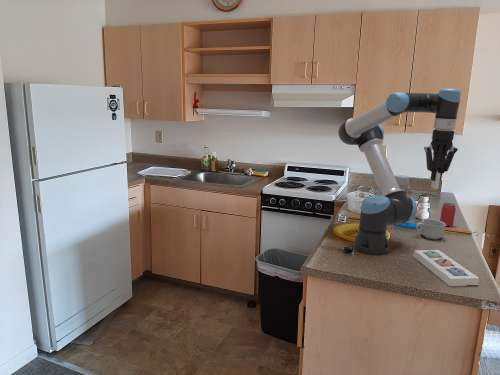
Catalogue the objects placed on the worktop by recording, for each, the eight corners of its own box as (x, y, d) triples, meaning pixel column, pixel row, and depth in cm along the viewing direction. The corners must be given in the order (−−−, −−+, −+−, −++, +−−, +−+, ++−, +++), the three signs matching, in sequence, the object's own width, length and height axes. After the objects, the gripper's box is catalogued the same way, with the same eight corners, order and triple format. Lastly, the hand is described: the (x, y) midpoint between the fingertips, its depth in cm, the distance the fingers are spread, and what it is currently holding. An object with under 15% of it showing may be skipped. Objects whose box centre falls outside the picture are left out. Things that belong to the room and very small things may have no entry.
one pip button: (429, 262, 158) (430, 255, 157) (423, 257, 163) (424, 250, 162) (441, 262, 159) (442, 255, 158) (434, 257, 164) (435, 250, 163)
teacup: (438, 234, 194) (441, 219, 192) (447, 242, 184) (449, 226, 182) (410, 232, 196) (412, 217, 194) (417, 240, 185) (419, 224, 183)
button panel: (449, 286, 140) (451, 278, 140) (413, 256, 165) (414, 250, 165) (477, 285, 141) (479, 278, 141) (437, 256, 166) (438, 250, 166)
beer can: (436, 223, 211) (440, 202, 208) (448, 223, 212) (451, 202, 209) (443, 227, 205) (447, 205, 202) (455, 227, 205) (459, 205, 202)
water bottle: (387, 219, 216) (392, 175, 210) (396, 217, 219) (402, 174, 213) (400, 224, 208) (405, 179, 202) (410, 222, 211) (416, 177, 205)
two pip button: (453, 280, 143) (454, 272, 142) (445, 274, 148) (446, 267, 147) (466, 280, 143) (467, 272, 143) (457, 274, 148) (459, 266, 147)
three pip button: (441, 271, 151) (442, 263, 150) (434, 265, 155) (435, 258, 155) (453, 271, 151) (454, 263, 150) (445, 265, 156) (446, 258, 155)
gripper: (433, 130, 145) (423, 190, 151) (465, 131, 146) (455, 191, 152) (422, 128, 152) (414, 185, 158) (453, 129, 154) (444, 186, 160)
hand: (434, 188), depth 155 cm, fingers closed
